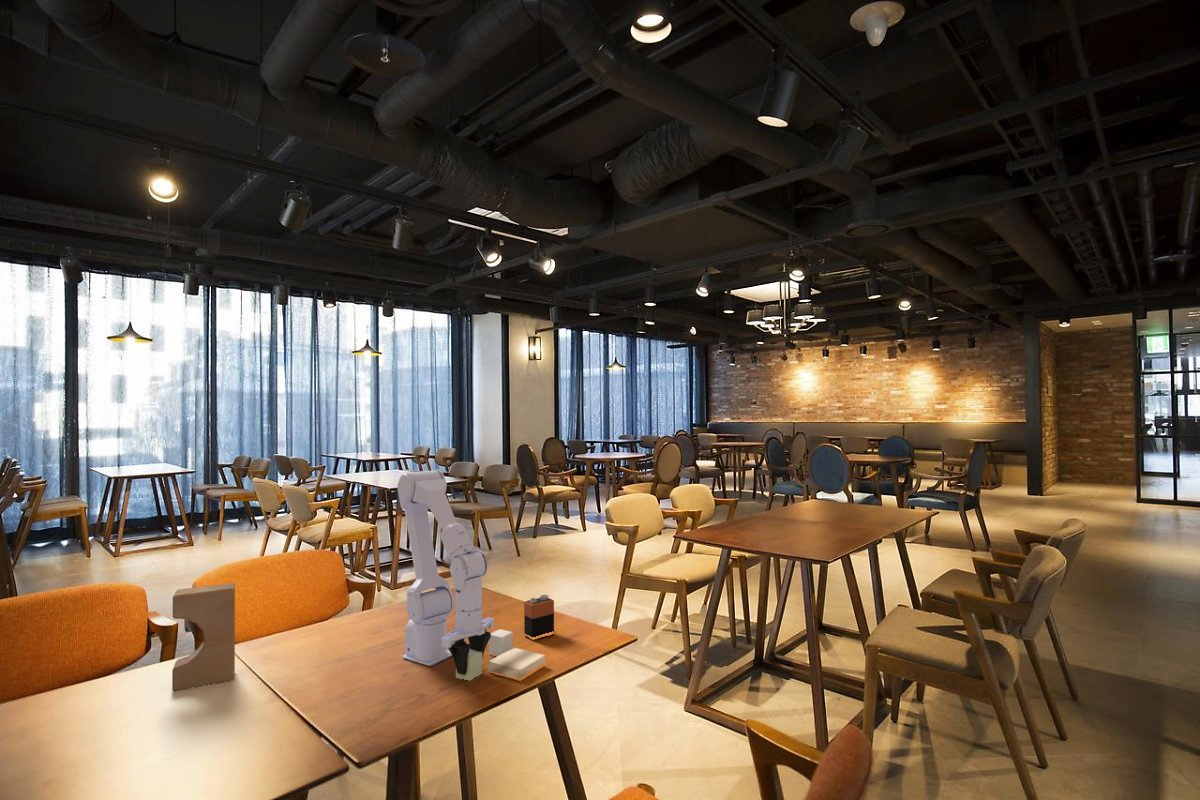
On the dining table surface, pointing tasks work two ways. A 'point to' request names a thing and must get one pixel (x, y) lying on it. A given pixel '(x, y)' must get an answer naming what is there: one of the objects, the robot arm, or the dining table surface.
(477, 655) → the sage block
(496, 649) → the grey block
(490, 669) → the birch base block
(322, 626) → the dining table surface
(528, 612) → the battery
